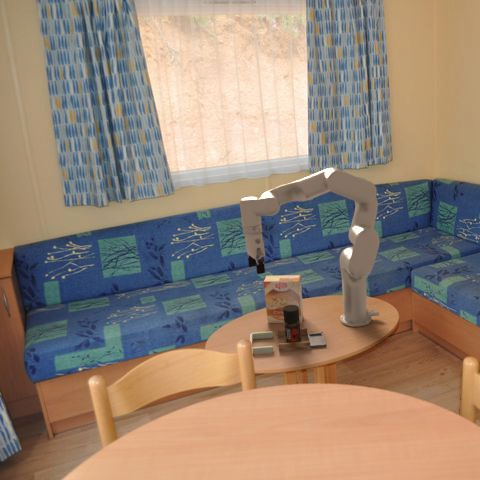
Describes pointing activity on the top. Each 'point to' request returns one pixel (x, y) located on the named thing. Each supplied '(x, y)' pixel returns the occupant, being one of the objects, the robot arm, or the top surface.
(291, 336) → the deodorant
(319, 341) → the tray
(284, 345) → the channel
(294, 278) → the coffeecake box
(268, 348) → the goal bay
